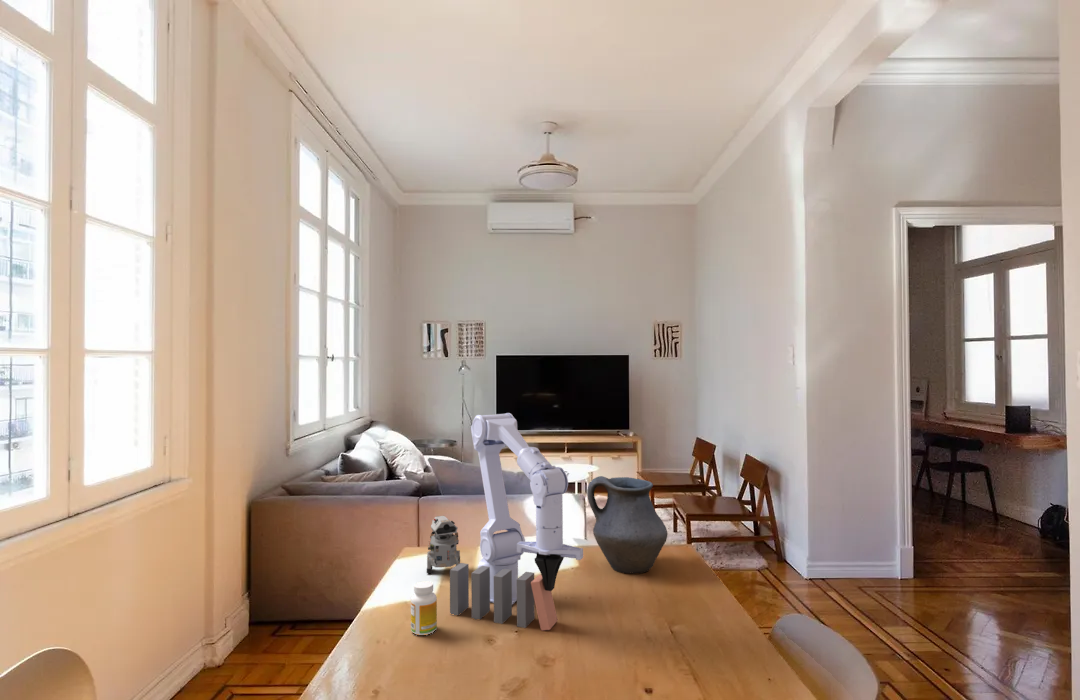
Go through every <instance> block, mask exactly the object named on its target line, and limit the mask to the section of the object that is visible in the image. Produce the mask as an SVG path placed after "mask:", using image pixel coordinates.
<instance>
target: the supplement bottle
mask: <svg viewBox="0 0 1080 700" xmlns="http://www.w3.org/2000/svg"><path fill="white" fill-rule="evenodd" d="M433 591H434V583H433V582H432V581H427V580H425V581H418V582H416V583H415V584H414V585H413V592H414V594H412V596H411V597H410V632H411V631H412V632H413V633H415V634H419V635H424V634H430V633H432V634H434V633H435V632H436V631H437V629H438V622H437V621H438V617H437V615H438V613H437V609H438V606H437V605H438V604H437V601H438V600H437V594H436V593H435V592H433ZM435 630H436V631H435ZM434 631H435V632H434ZM412 632H411V633H412ZM433 632H434V633H433ZM430 635H431V634H430Z"/></svg>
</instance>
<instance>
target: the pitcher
mask: <svg viewBox="0 0 1080 700" xmlns="http://www.w3.org/2000/svg"><path fill="white" fill-rule="evenodd" d="M653 486H654V484H653V482H651V481H648V480H645V479H640V478H635V477H627V476H626V477H625V476H624V477H623V476H622V477H619V476H618V477H610V478H608V477H606V476H603V475H600V476H599V475H598V476H596V477H594V478H593V479H592V480H590V482H589V483H588V485H587V490H586V495H587V501H588V504H589V506H590V509H591V511H592V513H593V515H594V517H595V523H594V526H593V529H592V532H593V536H594V539H595V541H596V543H597V545H598V546H599V549H600V550H601V552H602V553H603V555H604V557H605V559H606V560H607V562H608V564H609V565H610V567H611V568H612V570H613V571H615V572H619V573H622V574H635V573H639V574H643V573H647V572H649V571H650V570H651V569H652V568H653V567H654V564H655V562H656V560H657V558H658V556H659V555H660V552H662V549H663V547H664V545H665V543H666V542H667V540H668V539H667V538H668V529H667V527H666V525H665V523H664V521H663V519H662V518H661V517H660V516H659V514H658V513H657V511H656V510H655V508H654V505H653V503H652V500H651V497H650V491H651V490H652V488H653ZM597 487H604V488H605V489H606V491H607V495H606V502H605V505H604V506H603V508H600V507H599V506H598V504H597V500H596V497H595V490H596V488H597Z"/></svg>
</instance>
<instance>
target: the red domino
mask: <svg viewBox="0 0 1080 700" xmlns="http://www.w3.org/2000/svg"><path fill="white" fill-rule="evenodd" d="M531 587H532V591H533V596H534V606H535V610H536V613H537V617H538V624H539V627H540V631H541V632H542V631H550V630H551V629H552V628H553V627H554V625H555V624H557V622H558V621H559V620H558V615H557V611H556V606H555V602H554V598H553V592H552V591H546V590H545V586H544V582H543V578H542V575H541V574H538V575H537V576H536V577H534V580H533V581H532V582H531Z"/></svg>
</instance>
